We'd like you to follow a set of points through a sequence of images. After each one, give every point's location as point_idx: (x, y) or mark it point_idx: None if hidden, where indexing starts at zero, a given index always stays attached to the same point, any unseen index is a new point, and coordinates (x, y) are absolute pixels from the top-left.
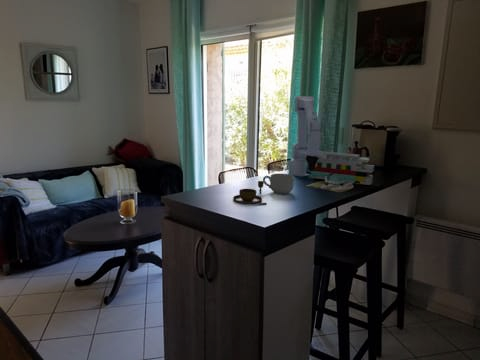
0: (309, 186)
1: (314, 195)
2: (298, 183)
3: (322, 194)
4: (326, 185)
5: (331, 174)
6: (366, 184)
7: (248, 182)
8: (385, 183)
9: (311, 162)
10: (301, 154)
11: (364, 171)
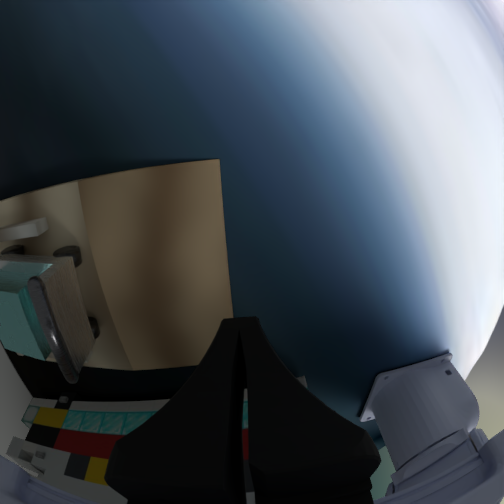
0: (179, 163)
1: (40, 5)
2: (316, 193)
3: (16, 62)
4: (69, 242)
5: (54, 351)
6: (39, 398)
7: (498, 21)
8: None
9: (207, 405)
10: (480, 465)
11: (27, 443)
